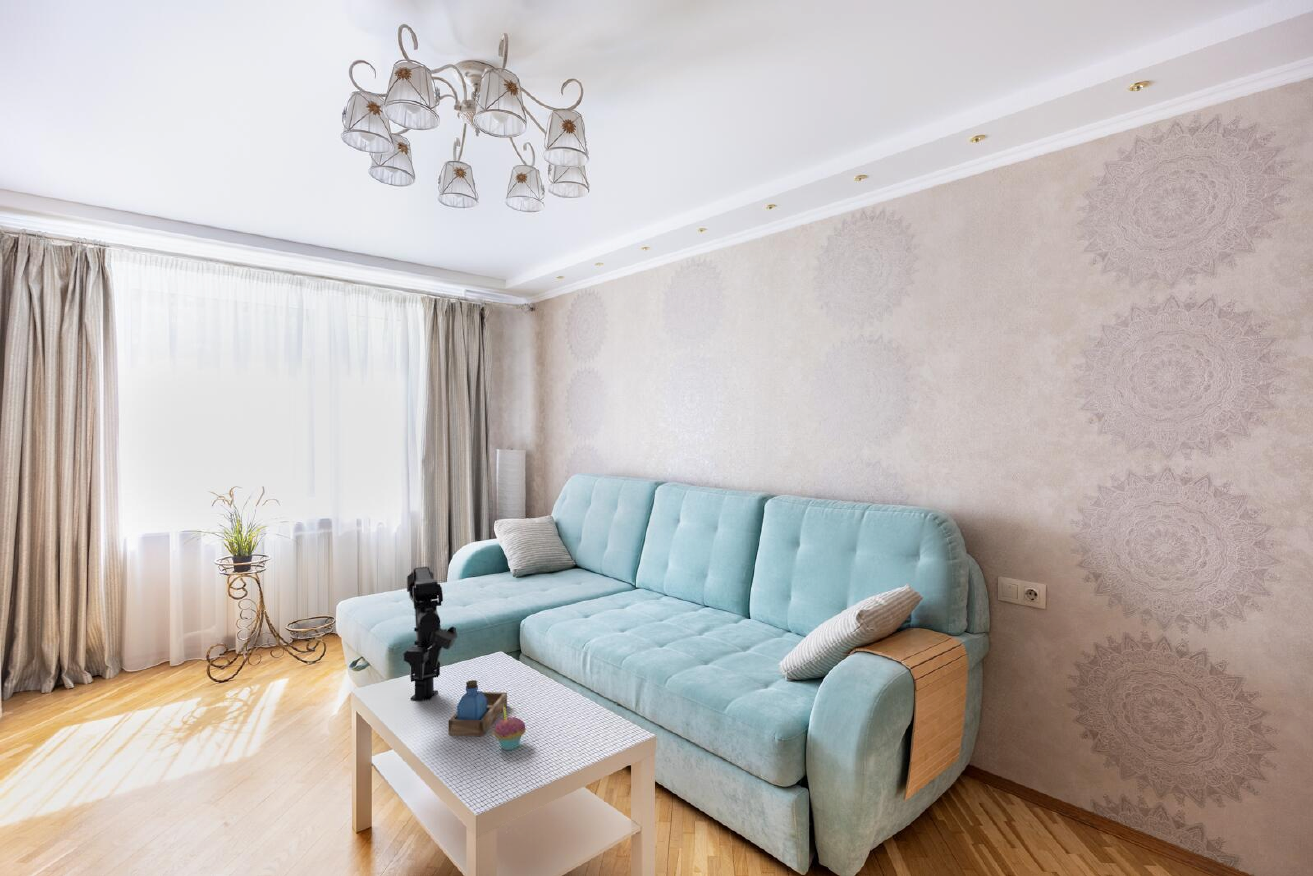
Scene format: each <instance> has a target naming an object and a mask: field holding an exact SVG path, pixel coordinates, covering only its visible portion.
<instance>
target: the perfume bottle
mask: <svg viewBox="0 0 1313 876" xmlns="http://www.w3.org/2000/svg"><path fill="white" fill-rule="evenodd" d="M465 684H466V685H465V694H463V695H462V696H461V698H460V699H459V701H458V703H457V705H456V712H457V719H458V720H481V719H482V718H483V717H484V715H485V714H486V713H487V698H486V697H485V695H484V694H483V693H482V692H483V691H480V690H479V685H478V681H477V680H476V679H472V680H468V681H466V682H465Z"/></svg>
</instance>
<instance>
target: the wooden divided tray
mask: <svg viewBox="0 0 1313 876" xmlns="http://www.w3.org/2000/svg"><path fill="white" fill-rule="evenodd" d="M482 693H483V694H484V695H485V697H486V698H487V713H486V714H485V715H484V717H483V718H482V719H481V720H458V719H457V711H456V712H455V713H454V714H453V715H452V717H451V718H449V720H447V721H448V736H464V737H465V736H466V737H468V736H469V737H483V736H484V735H485V734H486V733H485V732H487V731H488V730H489V729H490V728H491V726H492V725H493V724H494V723H495V722H496V720H497V719H498V718H499V716H500V715H501V714H502V713H503V705H504V707H505V708H506V707H507V706H508V692H503V691H502V692H501V691H500V692H498V691H497V692H496V691H482ZM506 705H507V706H506ZM499 714H500V715H499Z"/></svg>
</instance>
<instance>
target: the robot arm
mask: <svg viewBox="0 0 1313 876" xmlns="http://www.w3.org/2000/svg"><path fill="white" fill-rule="evenodd" d="M430 569H431V568H430V566H417V567H415V568H413V569H412V572H410V573H409V575H406V576H407V577H406V592H407V593H408V594H409V595H408V597H409V599H410V600H411V602H412V603H413V609H414V617H415V619H414V620H415V626H414V628H413V631H414V632H415V638H416V640H415V641H414V646H410V648H408V649H407V650H405V652H404V653H402V659H403V662H406V663H408V665H409V680H410V682H411V683H412V682H414V694H413V695H412V696H410V700H412V701H413V700H414V701H430V700H431V699H432V698H433V697H435V696H436V695H437V694H438V693H439V690H435V687H434V681H435V679H434V678H439V676H440V675H441V671H440V670H441V662H440V660H439V659H440V655H441V652H442V649H444V650H449V649H450V648H452V647H453V646H454V643H455V641H456V639H457V638H458V633H457V627H456V626H450V627H449V628H448V629H447V628H444V629H442V628H441V619H440V615H439V613H438V610H437V609H438V607H440V606H442V602H444V596H443V587H442V586H441V584H440V583H438V580H437V579H435V577H434V573H433V572H432V571H431V570H430Z"/></svg>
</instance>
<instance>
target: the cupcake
mask: <svg viewBox="0 0 1313 876" xmlns="http://www.w3.org/2000/svg"><path fill="white" fill-rule="evenodd" d="M502 713H503V717H504V718H503V719H501V720H500V721H498V722H497V723H496V724H495V725H494V726H493V727H494V728H493V736H494V737H495V739H497V740H498V741H499V746H500V748H501V749H502V750H504V751H512V750H515V749H517V748H518V747H519V746H520V742H521V738H522V736H523V735H525V733H526V730H527V729H526V724H525V722H524V721H523V720H522V719H520V718H518V717H516V716H515V717H512V716H511V717H508V715H507V710H506V707H504V705H503V711H502Z"/></svg>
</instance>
